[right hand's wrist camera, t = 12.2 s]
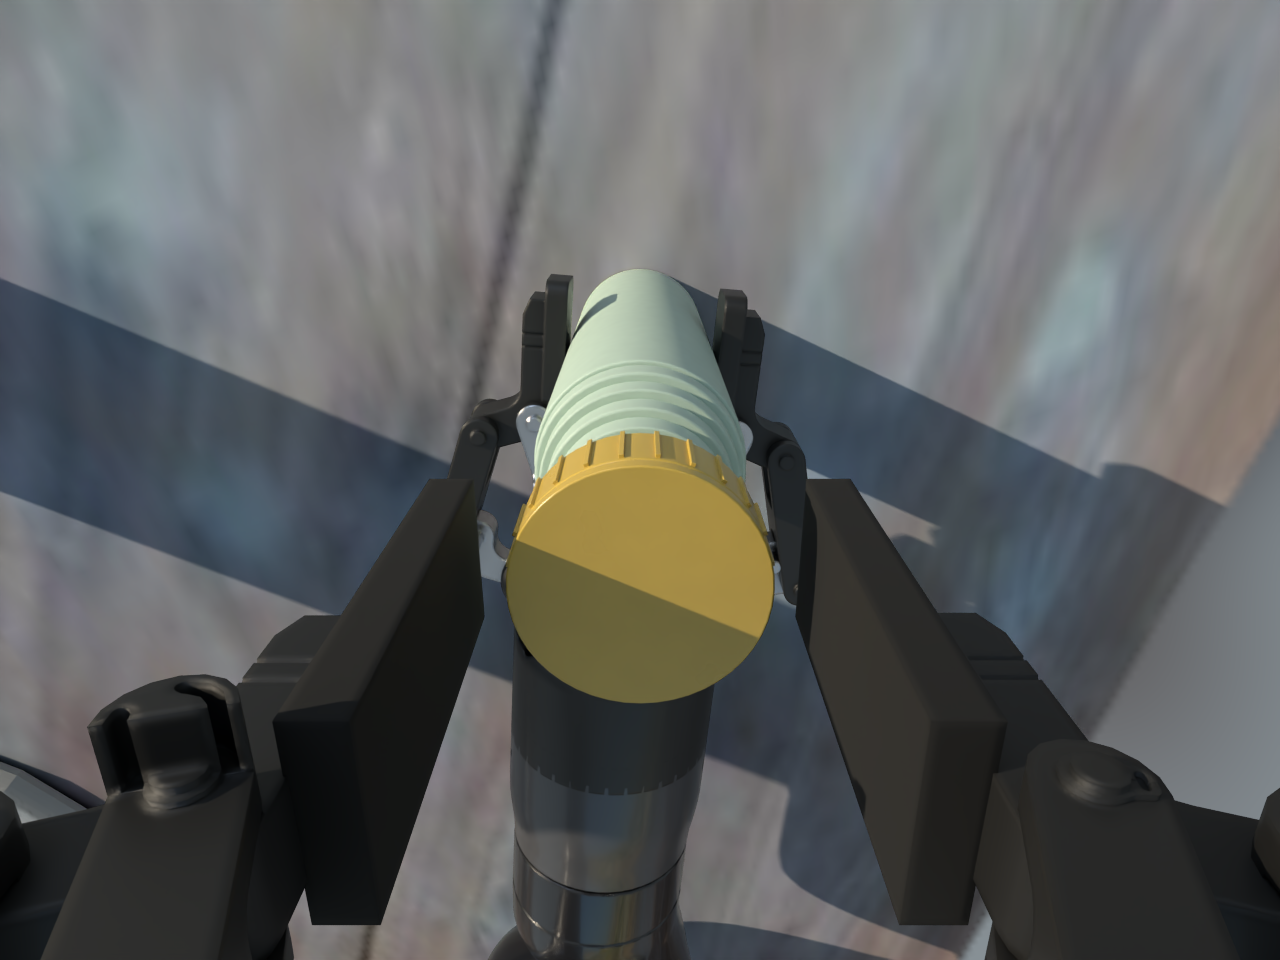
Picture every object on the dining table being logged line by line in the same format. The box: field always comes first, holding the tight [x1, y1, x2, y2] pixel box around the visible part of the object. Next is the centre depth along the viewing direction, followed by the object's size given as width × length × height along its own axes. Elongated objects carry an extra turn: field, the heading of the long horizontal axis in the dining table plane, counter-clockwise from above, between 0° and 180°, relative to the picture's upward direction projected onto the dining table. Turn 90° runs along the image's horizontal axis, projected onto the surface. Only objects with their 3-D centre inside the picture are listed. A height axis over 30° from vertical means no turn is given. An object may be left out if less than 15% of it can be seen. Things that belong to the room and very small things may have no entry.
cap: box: [506, 431, 775, 703], centre depth 14 cm, size 4×4×2 cm
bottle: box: [534, 269, 746, 482], centre depth 23 cm, size 5×5×21 cm
